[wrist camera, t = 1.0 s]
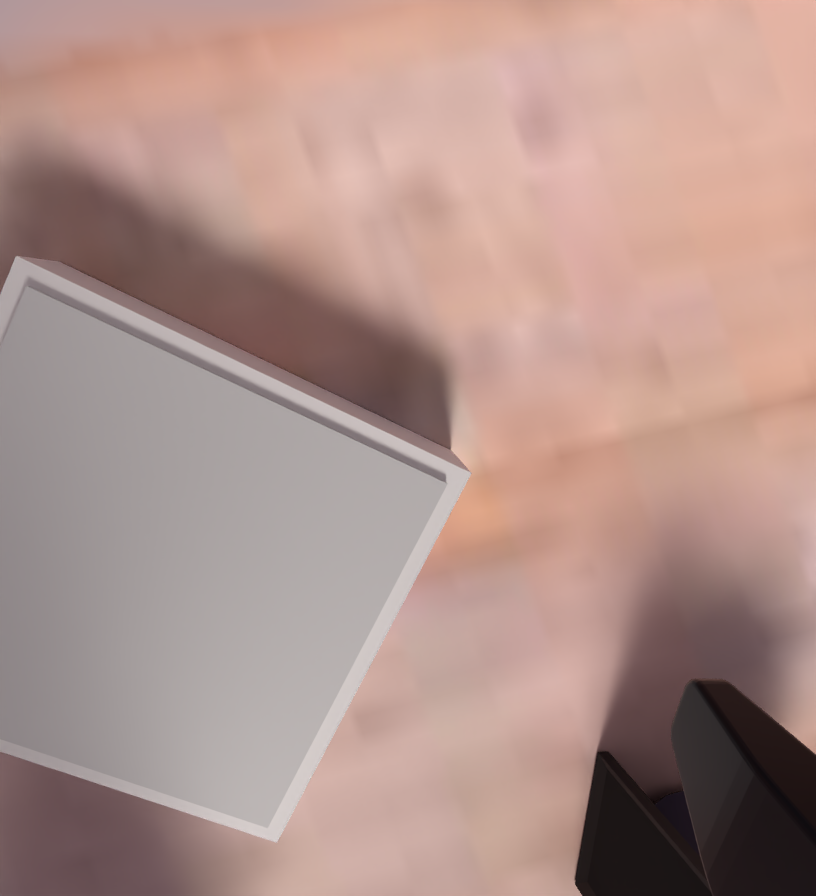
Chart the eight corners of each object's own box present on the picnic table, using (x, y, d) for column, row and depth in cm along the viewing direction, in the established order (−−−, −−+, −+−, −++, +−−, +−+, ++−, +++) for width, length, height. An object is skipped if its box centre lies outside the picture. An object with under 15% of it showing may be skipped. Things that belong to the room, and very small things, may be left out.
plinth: (280, 777, 23) (276, 848, 20) (-103, 643, 20) (-172, 701, 18) (451, 450, 21) (472, 474, 18) (58, 261, 19) (12, 255, 16)
